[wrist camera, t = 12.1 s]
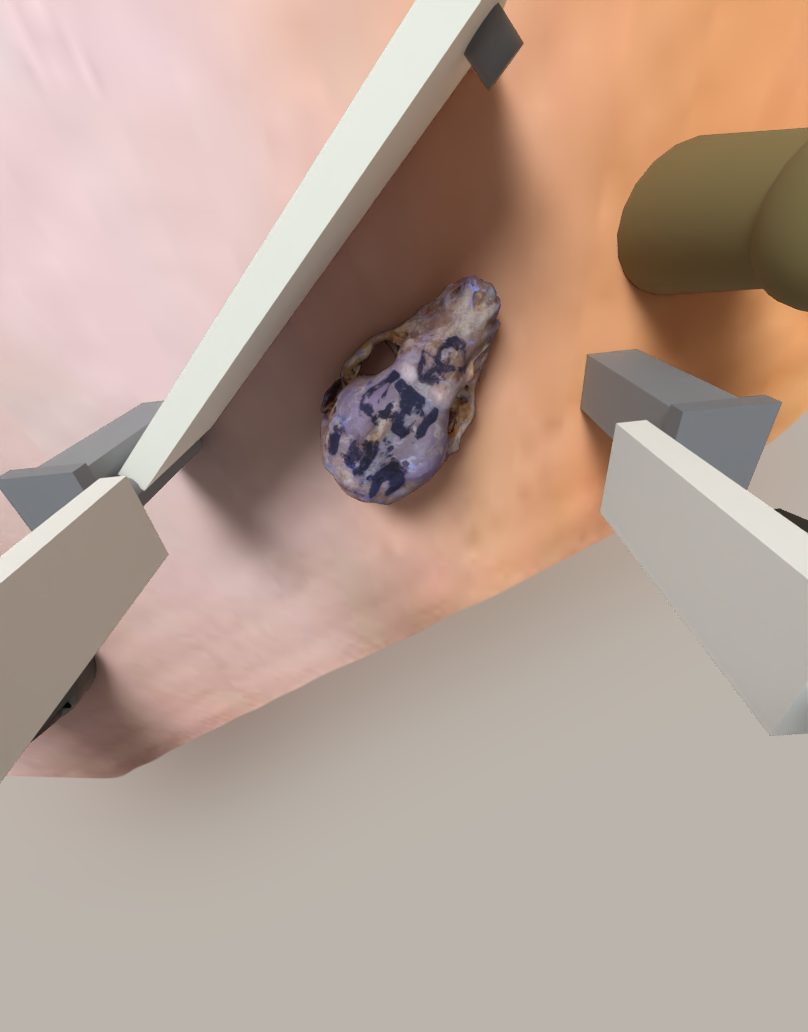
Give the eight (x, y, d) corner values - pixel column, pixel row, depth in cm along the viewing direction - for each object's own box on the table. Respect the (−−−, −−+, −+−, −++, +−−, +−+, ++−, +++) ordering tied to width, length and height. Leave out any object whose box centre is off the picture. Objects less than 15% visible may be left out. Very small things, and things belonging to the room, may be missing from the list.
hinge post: (161, 455, 26) (47, 553, 18) (134, 398, 24) (-7, 479, 16) (210, 450, 26) (118, 547, 18) (187, 392, 24) (72, 472, 16)
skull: (446, 235, 20) (459, 234, 15) (544, 351, 23) (584, 384, 17) (300, 414, 25) (272, 460, 20) (396, 490, 28) (393, 548, 22)
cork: (625, 151, 18) (855, 56, 9) (776, 119, 17) (1191, -17, 8) (610, 305, 21) (764, 354, 12) (736, 283, 21) (1000, 317, 11)
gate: (223, 448, 25) (159, 519, 19) (187, 422, 25) (107, 488, 18) (509, 71, 16) (577, -41, 10) (469, 8, 16) (513, -160, 9)
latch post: (574, 413, 24) (659, 501, 16) (582, 349, 22) (683, 411, 14) (630, 408, 24) (745, 494, 16) (643, 342, 22) (781, 402, 14)
